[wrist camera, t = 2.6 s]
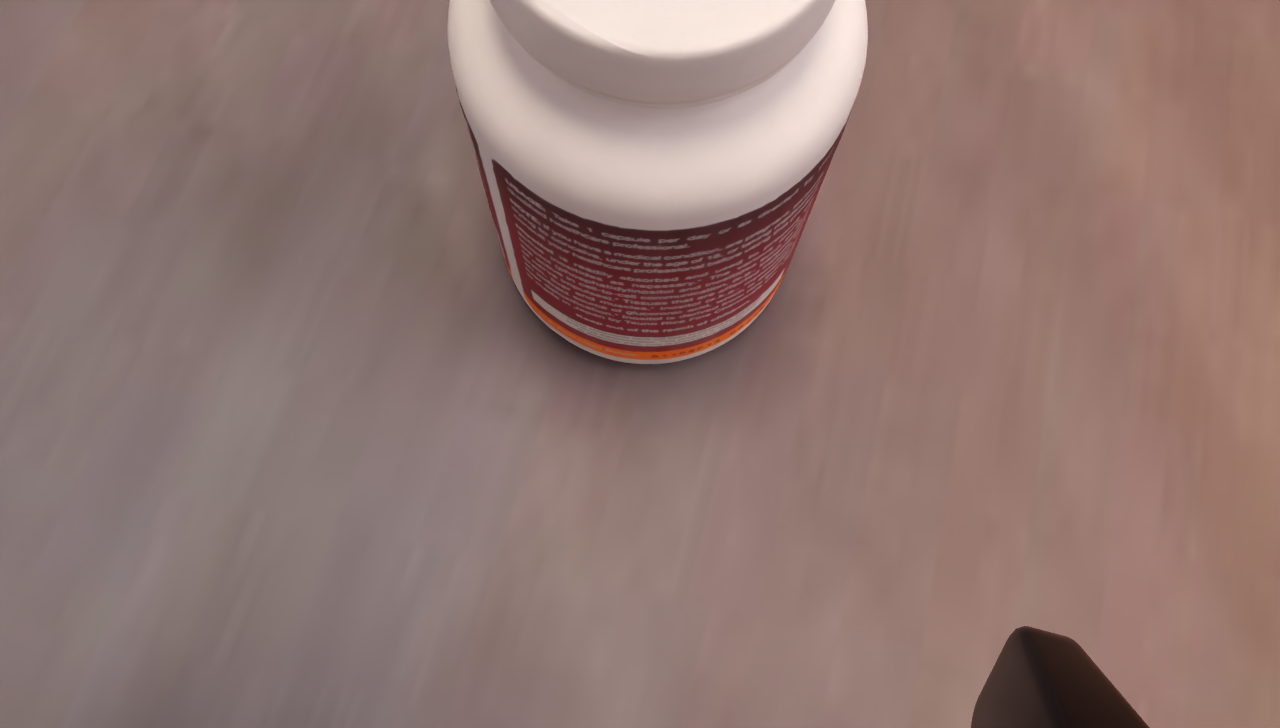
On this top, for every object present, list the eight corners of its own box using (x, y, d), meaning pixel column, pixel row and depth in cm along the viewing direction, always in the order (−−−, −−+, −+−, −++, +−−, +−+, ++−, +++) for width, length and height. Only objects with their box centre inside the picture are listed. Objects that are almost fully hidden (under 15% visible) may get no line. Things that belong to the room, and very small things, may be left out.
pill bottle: (847, 266, 24) (1036, -58, 13) (612, 429, 23) (606, 223, 12) (677, 53, 25) (721, -402, 14) (446, 199, 24) (307, -174, 13)
